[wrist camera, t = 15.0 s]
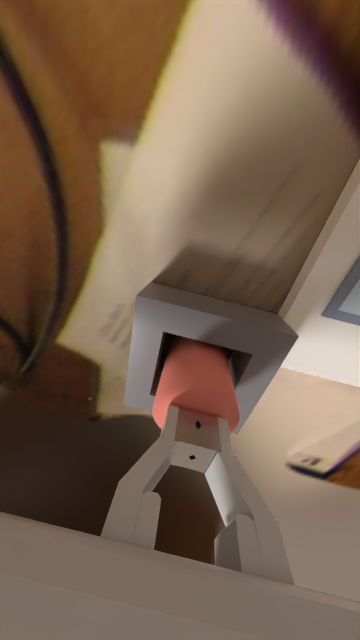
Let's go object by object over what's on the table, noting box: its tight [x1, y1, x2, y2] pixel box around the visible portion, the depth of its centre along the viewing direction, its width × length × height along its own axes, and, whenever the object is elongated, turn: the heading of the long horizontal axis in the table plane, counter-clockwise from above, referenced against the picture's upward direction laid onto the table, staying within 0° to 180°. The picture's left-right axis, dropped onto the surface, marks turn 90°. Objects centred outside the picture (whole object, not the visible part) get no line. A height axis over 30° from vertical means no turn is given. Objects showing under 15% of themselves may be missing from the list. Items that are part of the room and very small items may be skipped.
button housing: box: [123, 282, 299, 434], centre depth 13 cm, size 9×9×3 cm
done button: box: [152, 336, 239, 434], centre depth 11 cm, size 4×4×5 cm
